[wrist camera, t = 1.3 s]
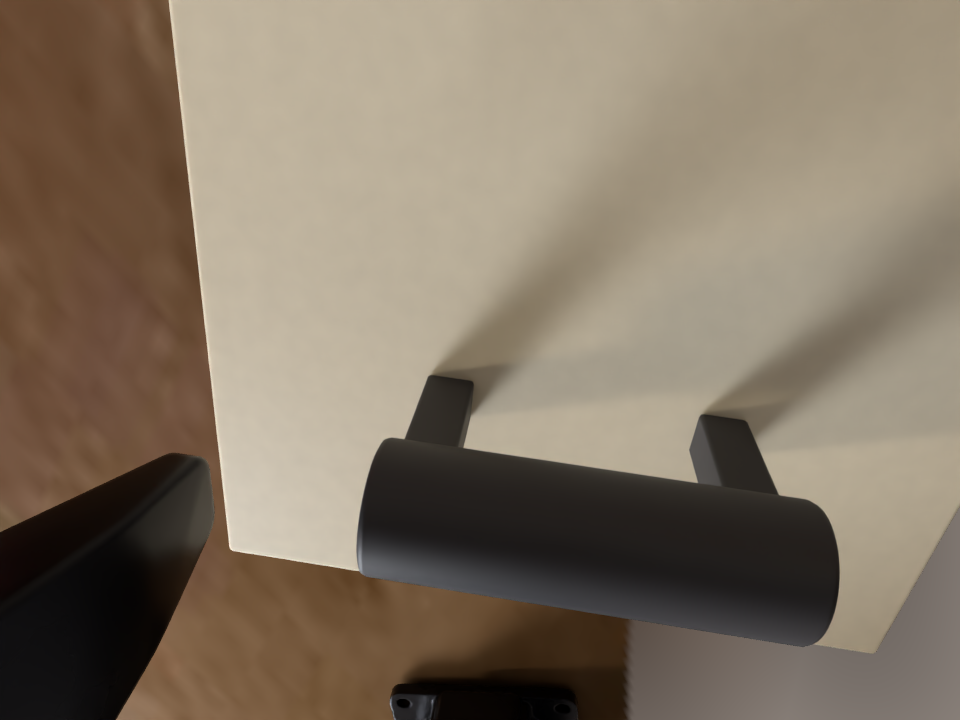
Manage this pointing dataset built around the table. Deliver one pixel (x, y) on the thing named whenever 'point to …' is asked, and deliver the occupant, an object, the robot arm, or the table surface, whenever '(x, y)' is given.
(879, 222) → the cool box lid
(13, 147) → the table surface
